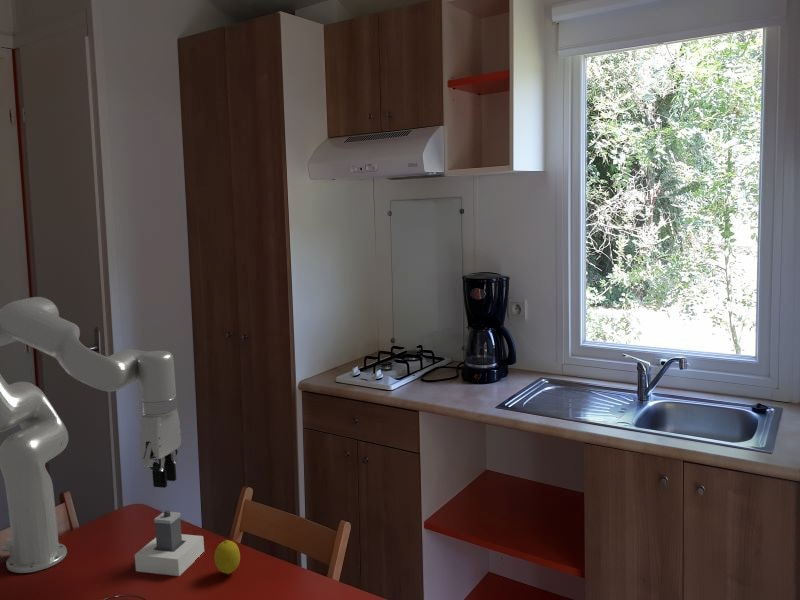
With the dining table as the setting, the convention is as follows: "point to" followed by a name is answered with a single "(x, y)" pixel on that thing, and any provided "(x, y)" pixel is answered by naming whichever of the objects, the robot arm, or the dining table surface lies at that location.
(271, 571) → the dining table surface
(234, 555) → the lemon
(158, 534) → the plug
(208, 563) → the dining table surface
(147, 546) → the socket
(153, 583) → the dining table surface
